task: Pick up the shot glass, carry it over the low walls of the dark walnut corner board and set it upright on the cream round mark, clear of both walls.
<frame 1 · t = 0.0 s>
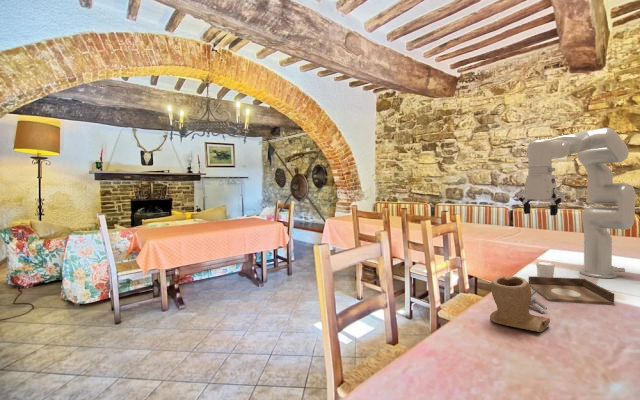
hand: (539, 214, 121), 31 cm above the table, tool pointing down, fingers open, 9 cm apart
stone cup: (517, 326, 93), on the table
corner board: (567, 294, 118), on the table
shot glass: (545, 279, 138), on the table
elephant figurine: (532, 309, 106), on the table
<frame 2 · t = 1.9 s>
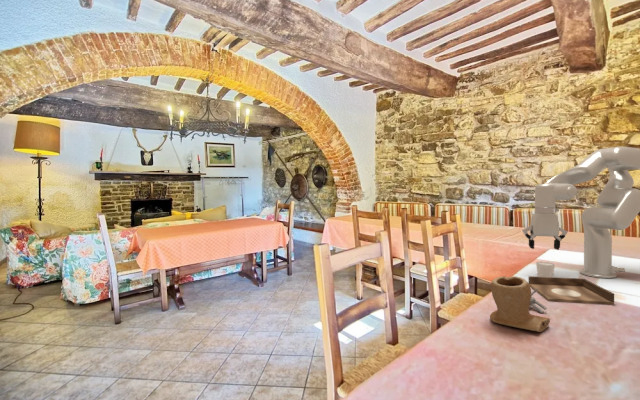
hand: (544, 248, 137), 14 cm above the table, tool pointing down, fingers open, 9 cm apart
nothing on the table moved.
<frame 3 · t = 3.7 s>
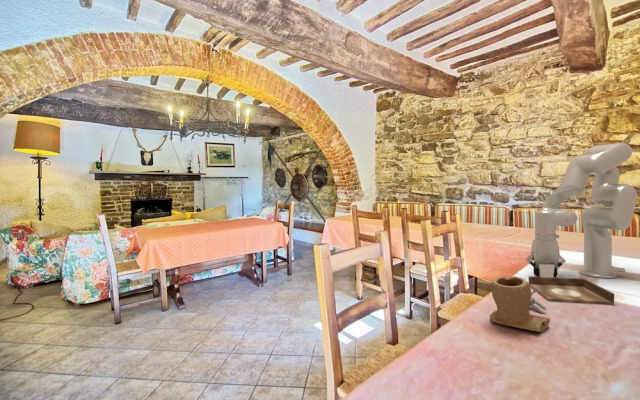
hand: (545, 276, 138), 1 cm above the table, tool pointing down, fingers closed on shot glass, 6 cm apart
shot glass: (545, 278, 138), on the table, touching gripper
everything else where it was.
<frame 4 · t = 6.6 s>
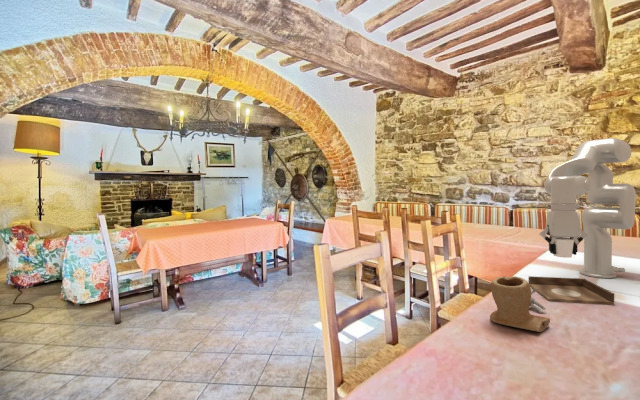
hand: (562, 253, 119), 16 cm above the table, tool pointing down, fingers closed on shot glass, 6 cm apart
shot glass: (562, 256, 119), point 15 cm above the table, touching gripper
everything else where it was.
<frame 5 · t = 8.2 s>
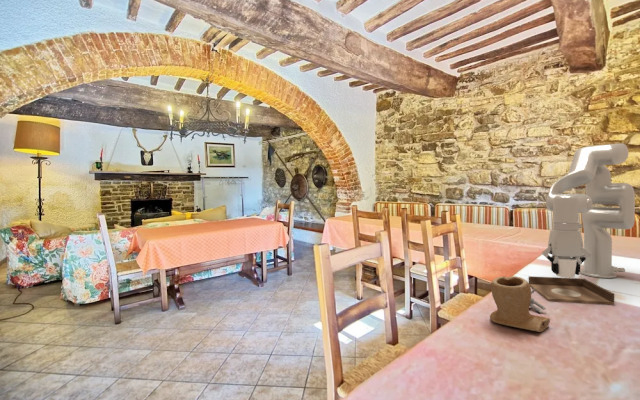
hand: (565, 273, 117), 9 cm above the table, tool pointing down, fingers closed on shot glass, 6 cm apart
shot glass: (565, 276, 117), point 7 cm above the table, touching gripper
everything else where it was.
when the fingers open (3 cm above the table, at t = 9.7 s): shot glass drops 1 cm, resting on corner board.
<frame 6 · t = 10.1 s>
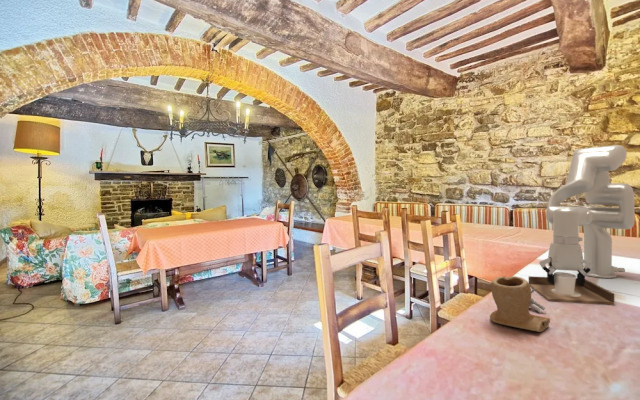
hand: (565, 284, 117), 4 cm above the table, tool pointing down, fingers open, 9 cm apart
shot glass: (564, 292, 117), point 1 cm above the table, touching corner board
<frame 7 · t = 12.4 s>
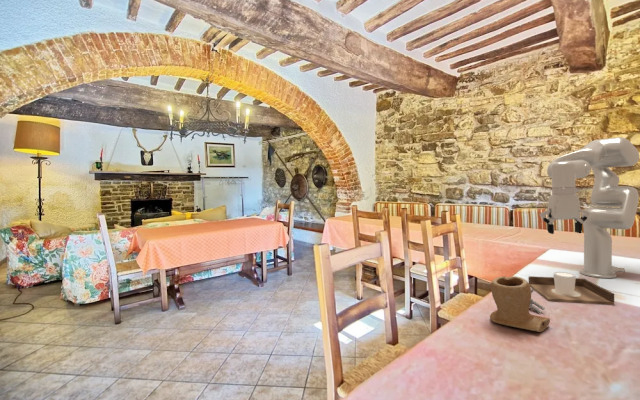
hand: (564, 233, 125), 23 cm above the table, tool pointing down, fingers open, 9 cm apart
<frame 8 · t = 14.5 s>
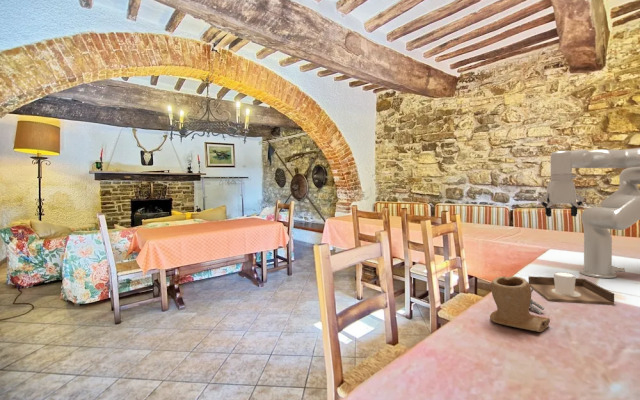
hand: (561, 216, 137), 28 cm above the table, tool pointing down, fingers open, 9 cm apart
at the end: shot glass 0.3 cm from the target spot on the corner board, point 0.9 cm above the corner board's base; shot glass tilted 0°; the gripper is holding nothing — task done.
